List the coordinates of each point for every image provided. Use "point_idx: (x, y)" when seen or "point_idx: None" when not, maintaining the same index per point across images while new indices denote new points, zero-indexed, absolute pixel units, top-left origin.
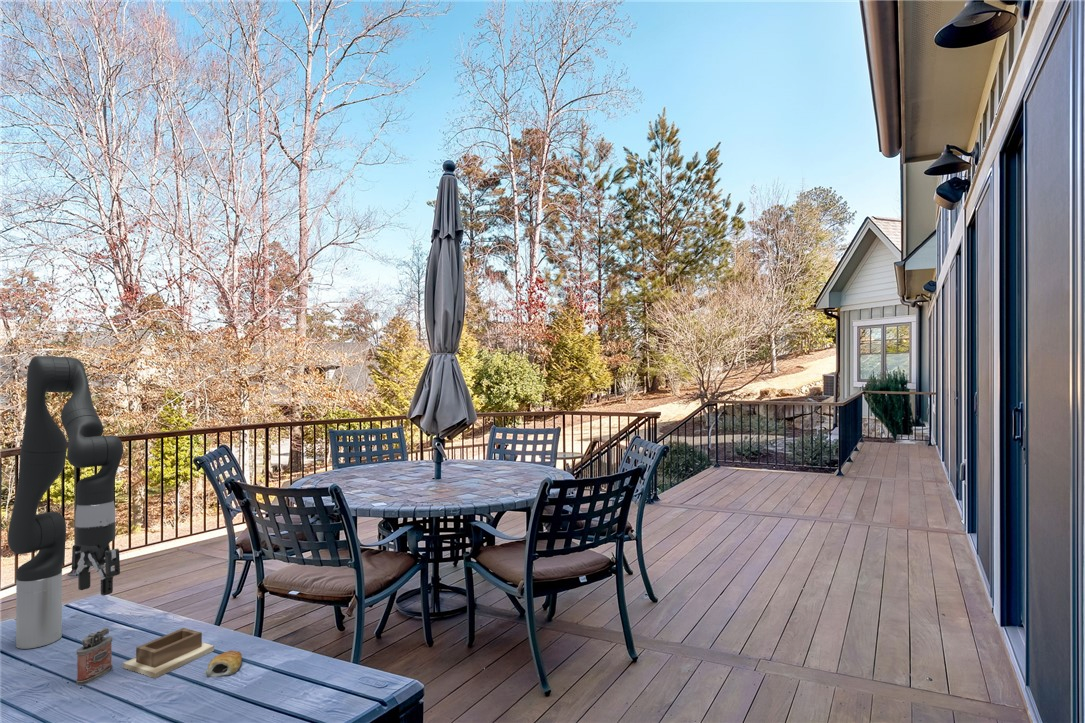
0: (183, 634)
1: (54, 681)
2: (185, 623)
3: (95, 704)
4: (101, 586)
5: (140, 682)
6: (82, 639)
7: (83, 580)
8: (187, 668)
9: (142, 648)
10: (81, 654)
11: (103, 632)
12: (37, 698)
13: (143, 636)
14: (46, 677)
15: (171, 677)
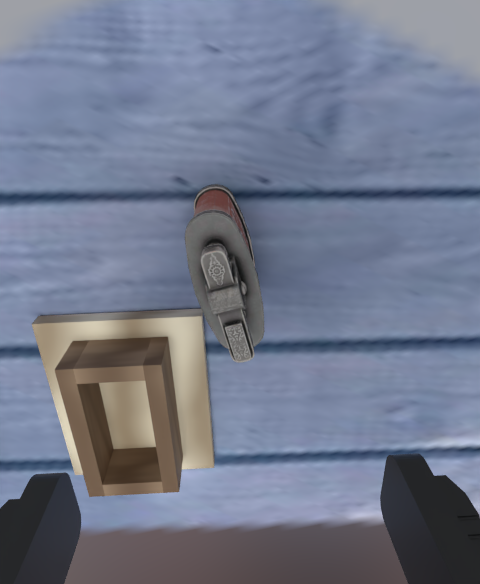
0: (156, 472)
1: (315, 160)
2: (324, 510)
3: (5, 139)
4: (9, 555)
5: (49, 283)
6: (223, 253)
7: (424, 554)
8: (27, 384)
9: (131, 369)
10: (193, 217)
11: (224, 335)
12: (236, 62)
13: (358, 432)
14: (373, 163)
15: (5, 338)
